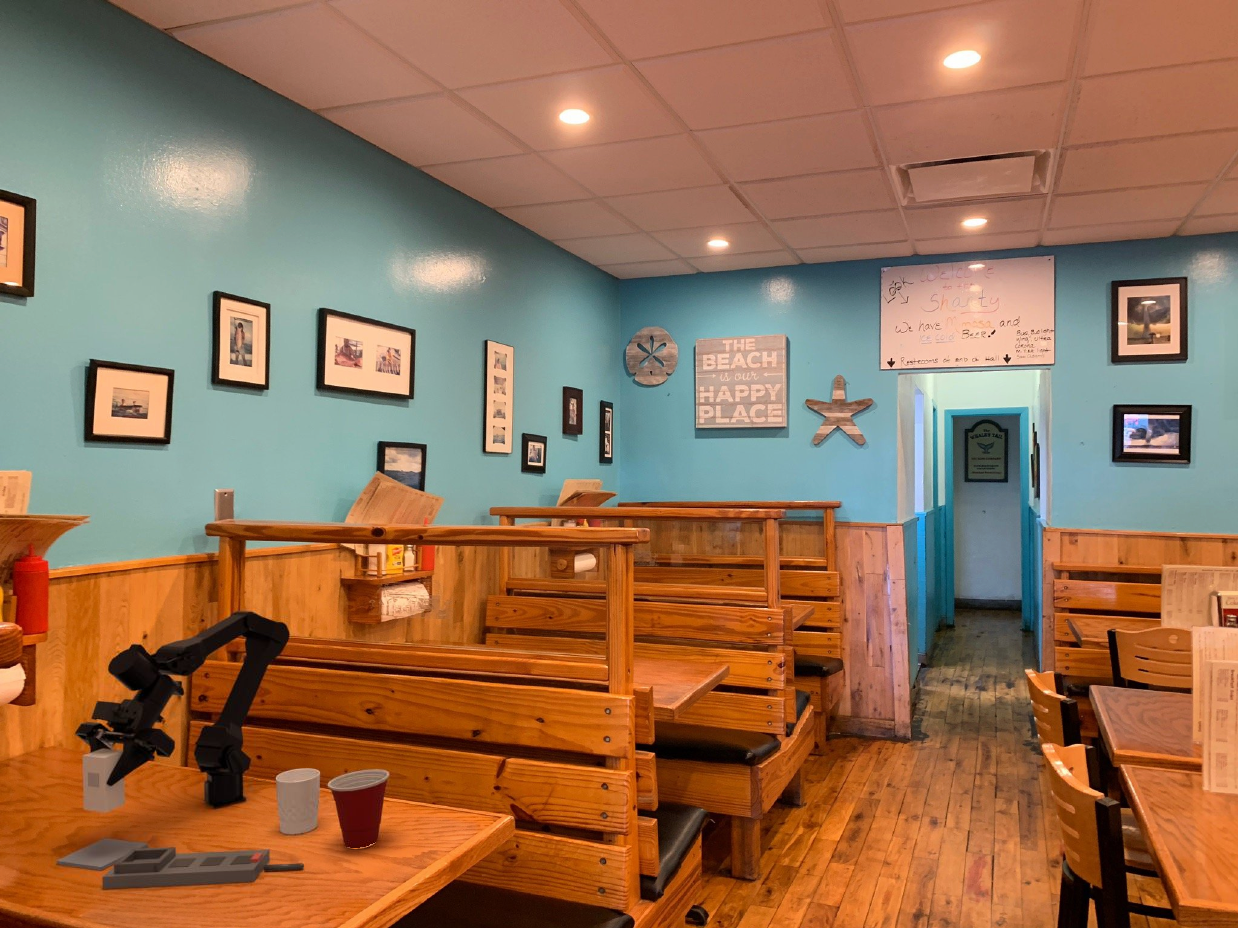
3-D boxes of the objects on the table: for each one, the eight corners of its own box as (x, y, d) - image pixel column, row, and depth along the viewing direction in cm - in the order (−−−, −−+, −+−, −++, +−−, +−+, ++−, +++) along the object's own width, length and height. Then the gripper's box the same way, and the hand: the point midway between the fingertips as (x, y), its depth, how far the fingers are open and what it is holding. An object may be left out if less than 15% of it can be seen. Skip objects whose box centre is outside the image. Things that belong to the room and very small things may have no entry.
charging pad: (105, 841, 165) (105, 837, 165) (148, 846, 162) (148, 843, 162) (56, 863, 155) (56, 860, 155) (101, 870, 152) (101, 866, 152)
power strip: (102, 889, 145) (102, 867, 145) (126, 867, 153) (126, 847, 153) (297, 879, 147) (296, 858, 147) (310, 858, 155) (310, 838, 155)
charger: (103, 801, 161) (102, 748, 161) (124, 804, 159) (123, 750, 159) (83, 809, 157) (81, 755, 157) (104, 812, 155) (103, 757, 155)
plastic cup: (353, 828, 169) (352, 764, 169) (402, 834, 165) (401, 769, 165) (315, 851, 158) (314, 783, 158) (367, 858, 155) (366, 789, 155)
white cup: (329, 822, 172) (328, 769, 172) (302, 838, 164) (301, 783, 164) (295, 818, 174) (294, 766, 174) (267, 833, 167) (266, 779, 167)
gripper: (82, 678, 165) (26, 756, 155) (160, 683, 159) (107, 766, 148) (120, 709, 172) (69, 786, 162) (196, 716, 166) (148, 796, 156)
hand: (97, 783), depth 157 cm, fingers closed on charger, 5 cm apart
